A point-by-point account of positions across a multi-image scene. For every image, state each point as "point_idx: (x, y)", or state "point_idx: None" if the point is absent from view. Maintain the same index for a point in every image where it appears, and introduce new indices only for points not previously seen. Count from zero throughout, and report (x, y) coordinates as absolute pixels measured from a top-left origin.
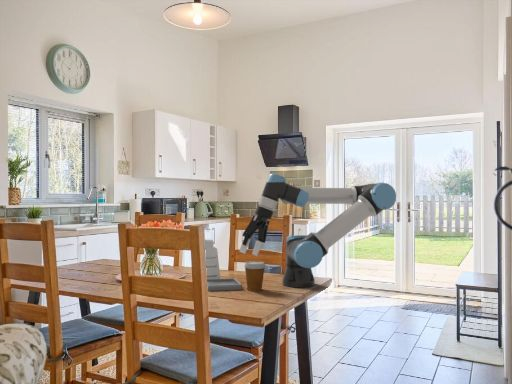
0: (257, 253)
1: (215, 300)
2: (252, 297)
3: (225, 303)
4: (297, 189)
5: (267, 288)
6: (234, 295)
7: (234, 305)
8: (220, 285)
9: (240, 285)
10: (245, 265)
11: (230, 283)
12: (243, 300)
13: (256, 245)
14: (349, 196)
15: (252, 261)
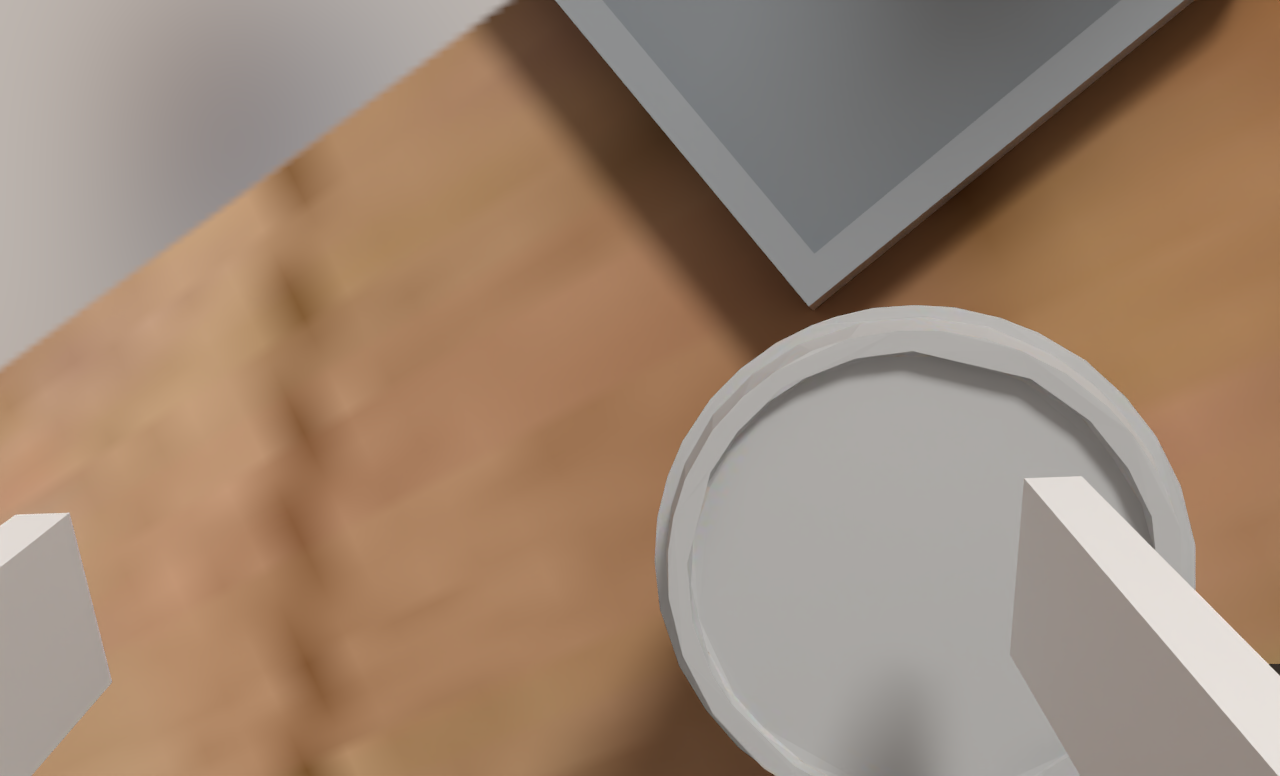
0: (1043, 697)
1: (134, 318)
2: (448, 654)
3: (75, 489)
4: None
5: None
6: (442, 395)
7: None
8: (593, 44)
9: (796, 291)
10: (720, 407)
11: (922, 34)
12: (270, 614)
13: (1174, 738)
14: None
15: (1102, 432)
